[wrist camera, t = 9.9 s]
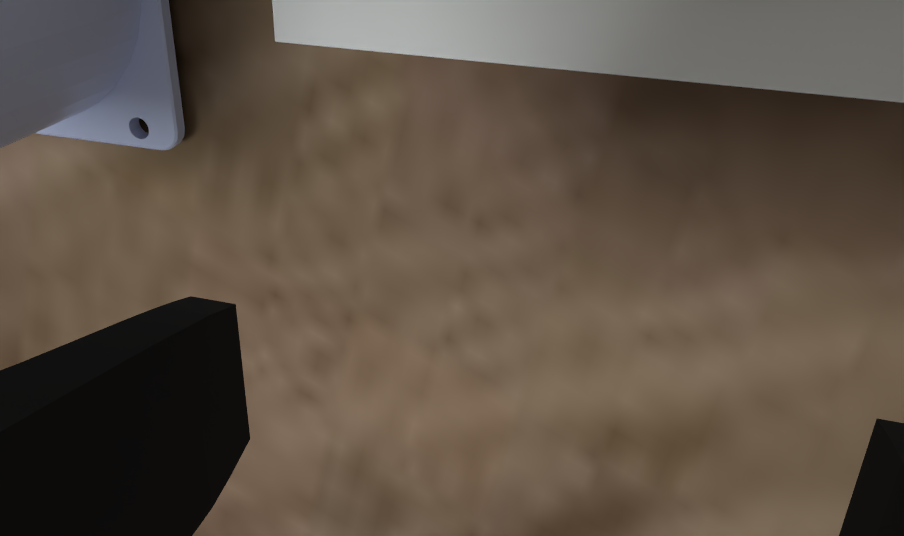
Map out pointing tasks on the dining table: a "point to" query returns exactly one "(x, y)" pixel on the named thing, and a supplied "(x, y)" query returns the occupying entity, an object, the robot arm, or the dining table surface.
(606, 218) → the dining table surface
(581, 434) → the dining table surface
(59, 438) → the robot arm
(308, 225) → the dining table surface
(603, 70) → the wooden frame
